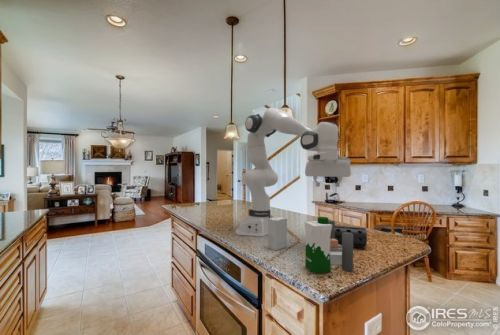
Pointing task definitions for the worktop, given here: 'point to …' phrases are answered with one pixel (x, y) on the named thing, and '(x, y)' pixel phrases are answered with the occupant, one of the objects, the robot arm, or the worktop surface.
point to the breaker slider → (334, 243)
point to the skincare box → (277, 233)
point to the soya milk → (318, 245)
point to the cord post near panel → (332, 229)
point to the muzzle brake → (358, 235)
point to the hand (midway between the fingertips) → (327, 186)
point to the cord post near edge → (347, 251)
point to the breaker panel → (336, 256)
